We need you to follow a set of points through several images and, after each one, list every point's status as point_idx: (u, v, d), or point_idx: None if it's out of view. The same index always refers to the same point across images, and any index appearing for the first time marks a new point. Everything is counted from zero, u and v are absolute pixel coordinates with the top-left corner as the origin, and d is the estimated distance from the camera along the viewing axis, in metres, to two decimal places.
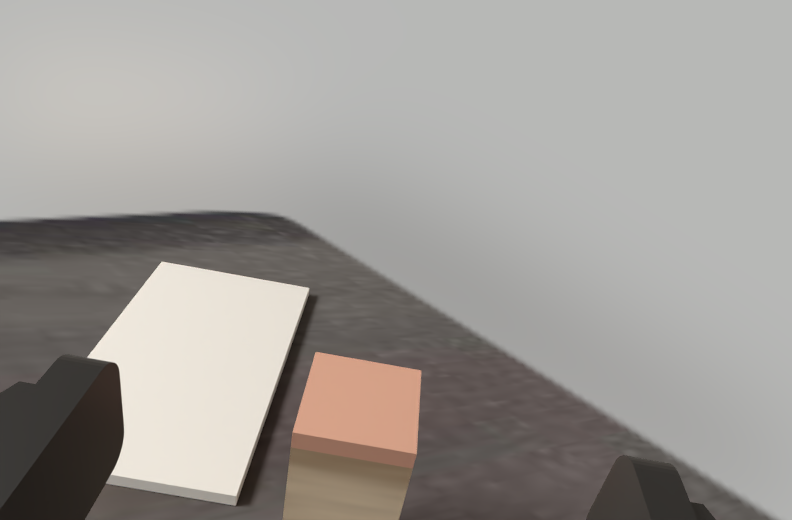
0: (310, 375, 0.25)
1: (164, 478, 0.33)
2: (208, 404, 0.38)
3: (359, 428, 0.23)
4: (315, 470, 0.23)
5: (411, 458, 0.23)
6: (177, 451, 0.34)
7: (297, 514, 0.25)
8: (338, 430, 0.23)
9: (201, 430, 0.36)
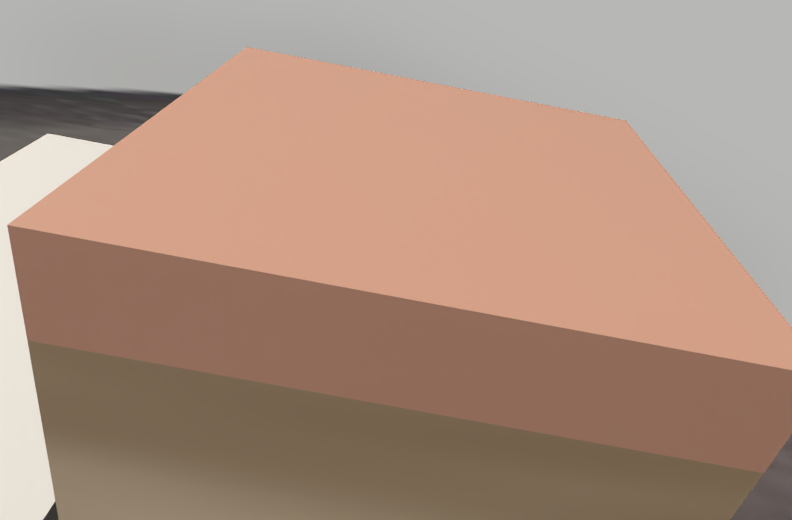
0: (209, 79, 0.06)
1: None
2: None
3: (442, 240, 0.04)
4: (196, 483, 0.04)
5: (782, 408, 0.04)
6: None
7: None
8: (320, 239, 0.04)
9: None
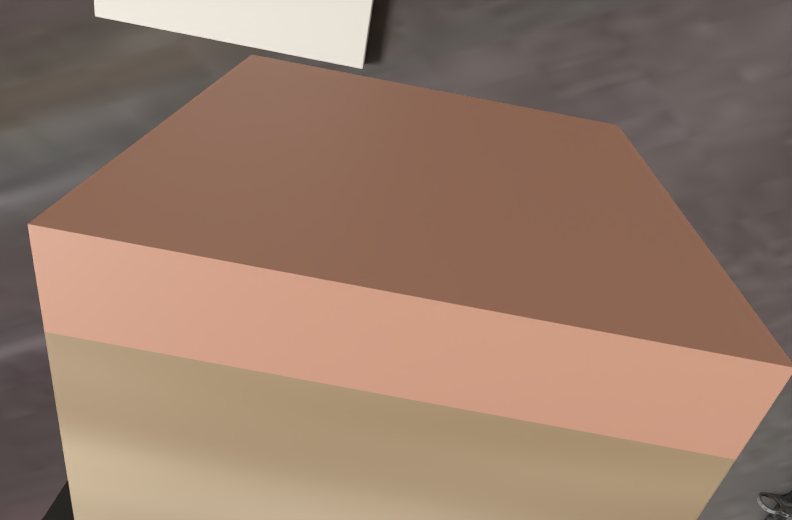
0: (215, 87, 0.06)
1: (275, 44, 0.27)
2: None
3: (433, 239, 0.04)
4: (200, 470, 0.05)
5: (750, 398, 0.04)
6: (278, 0, 0.26)
7: None
8: (317, 238, 0.04)
9: None
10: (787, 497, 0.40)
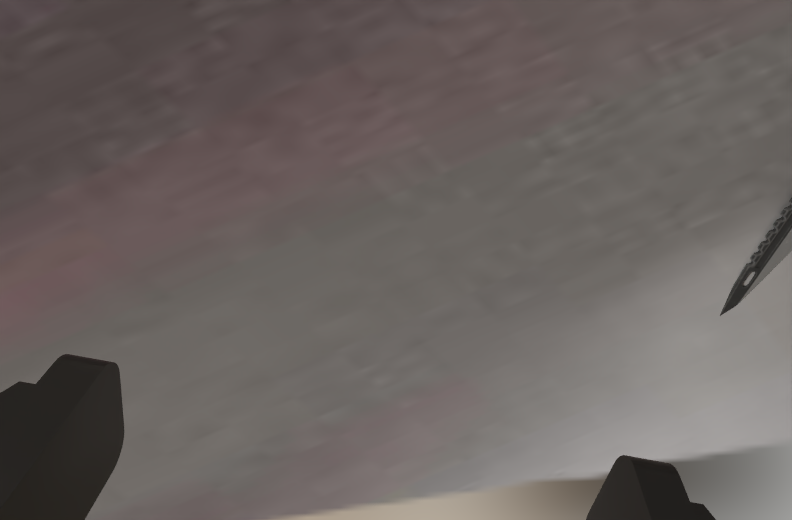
0: None
1: None
2: None
3: None
4: None
5: None
6: None
7: None
8: None
9: None
10: None
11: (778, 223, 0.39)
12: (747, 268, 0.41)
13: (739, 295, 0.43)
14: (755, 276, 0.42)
